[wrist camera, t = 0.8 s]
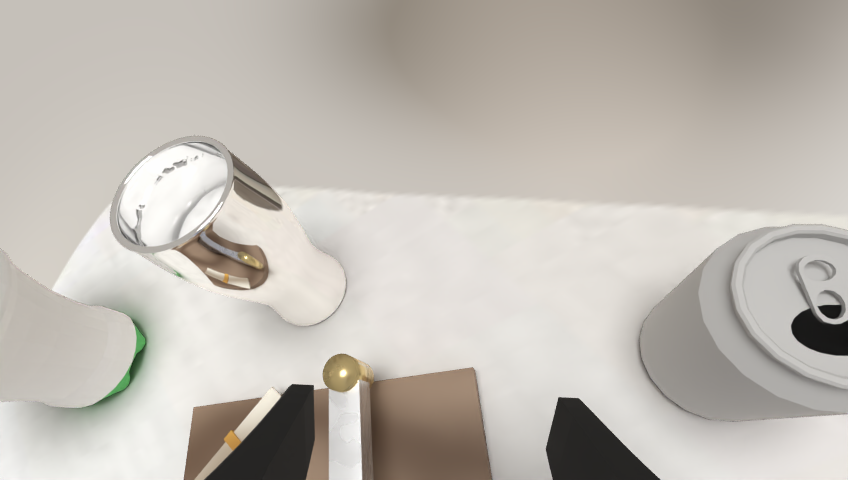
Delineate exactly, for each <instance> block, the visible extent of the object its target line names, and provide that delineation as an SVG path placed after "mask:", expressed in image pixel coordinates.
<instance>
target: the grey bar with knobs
mask: <svg viewBox="0 0 848 480" xmlns="http://www.w3.org/2000/svg"><path fill="white" fill-rule="evenodd" d="M323 380H324V382H325V384H326V386H327V387H328V388H329V480H373V457H372V434H371V410H370V388H371V386H372V384H373V380H374V375H373V371H372V369H371V367H370V366H369V365H367V364H366V363H364V362H362V361H359V360H357V359H355V358H353V357H351V356H349V355H346V354H337V355H335V356H333V357H331V358H330V359H329V360H328V361H327V363H326V364H325V366H324V369H323Z"/></svg>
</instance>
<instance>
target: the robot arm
mask: <svg viewBox="0 0 848 480" xmlns="http://www.w3.org/2000/svg"><path fill="white" fill-rule="evenodd" d="M314 441H315V420H314V385H298V384H292V385H291V386H290V387H288V389H287V390H286V391H285V392H284V394H283V395H282V396H281V397H280V399H279V400H278V401H277V402H276V404H275V405H274V406H273V407H272V408H271V410H270V411H269V412H268V413H267V414H266V415H265V417H264V418H263V419H262V420H261V421H260V422H259V423H258V425H257V426H256V427H255V428H254V429H253V430H252V431H251V432H250V433H249V434H248V436H247V437H246V438H245V439H244V440H243V441H242V442H241V443H240V444H239V445H238V446H237V447H236V448H235V449H234V450H233V451H232V452H231V453H230V454H229V455H228V456H227V457H226V458H225V459H224V460H223V461H222V462H221V463H220V464H219V465H218V466H217V467H216V468H215V469H214V470H213V471H212V472H211V473H210V474H209V475H208V476H207V477H206V478H205V479H204V480H306V477H307V473H308V469H309V464H310V460H311V455H312V451H313V446H314ZM546 452H547V457H548V461H549V465H550V470H551V474H552V478H553V480H660V479H659V478H658V477H657V476H656V475H655V474H654V473H653V472H652V471H651V470H649V469H648V468H647V467H646V466H645V465H644V464H643V463H642V462H641V461H640V460H639V459H638V458H637V457H636V456H635V455H634V454H633V453H632V452H631V451H630V450H629V449H628V448H627V447H626V446H625V445H624V444H623V443H622V442H621V441H620V440H619V439H618V438H617V437H616V436H615V435H614V434H613V433H612V432H611V431H610V430H609V429H608V428H607V427H606V426H605V425H604V424H603V423H602V422H601V421H600V420H599V418H598V417H597V416H596V415H595V414H594V413H593V412H592V411H591V410H590V409H589V408H588V407H587V406H586V405H585V404H584V403H583V402H582V401H581V400H580V399H579V398H562V397H559V398H558V402H557V406H556V410H555V414H554V418H553V422H552V426H551V430H550V434H549V438H548V442H547V446H546Z"/></svg>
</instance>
